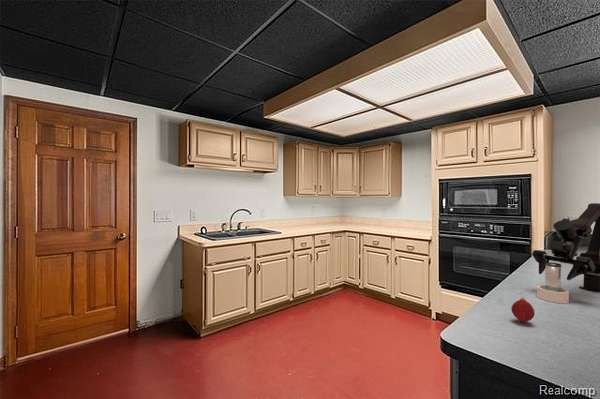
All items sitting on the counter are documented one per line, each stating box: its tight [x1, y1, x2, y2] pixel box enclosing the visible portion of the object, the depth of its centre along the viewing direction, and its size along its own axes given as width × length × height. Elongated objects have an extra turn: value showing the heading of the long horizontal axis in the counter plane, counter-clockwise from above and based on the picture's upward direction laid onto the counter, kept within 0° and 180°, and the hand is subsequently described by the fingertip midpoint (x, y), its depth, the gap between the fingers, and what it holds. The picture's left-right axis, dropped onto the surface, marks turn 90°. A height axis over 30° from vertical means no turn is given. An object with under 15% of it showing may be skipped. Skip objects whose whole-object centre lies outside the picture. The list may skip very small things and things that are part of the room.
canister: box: [544, 261, 562, 292], centre depth 115 cm, size 5×5×13 cm
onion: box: [510, 296, 536, 324], centre depth 92 cm, size 6×6×8 cm
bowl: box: [536, 284, 570, 304], centre depth 115 cm, size 9×9×4 cm
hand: (553, 276), depth 115 cm, fingers open, 9 cm apart
